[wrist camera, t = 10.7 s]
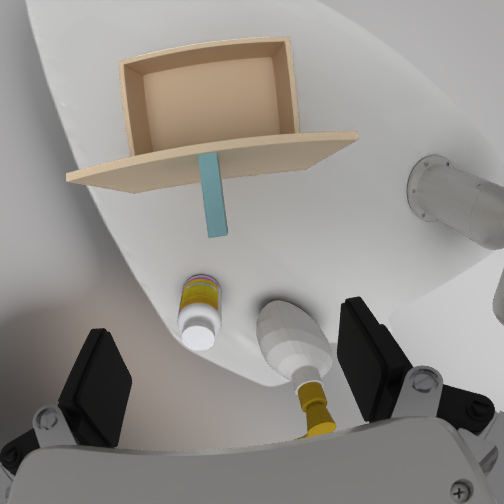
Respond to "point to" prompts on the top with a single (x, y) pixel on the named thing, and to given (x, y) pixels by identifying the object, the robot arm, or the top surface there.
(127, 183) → the lid
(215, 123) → the carton
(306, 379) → the soap bottle
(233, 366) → the top surface
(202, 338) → the supplement bottle
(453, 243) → the top surface
